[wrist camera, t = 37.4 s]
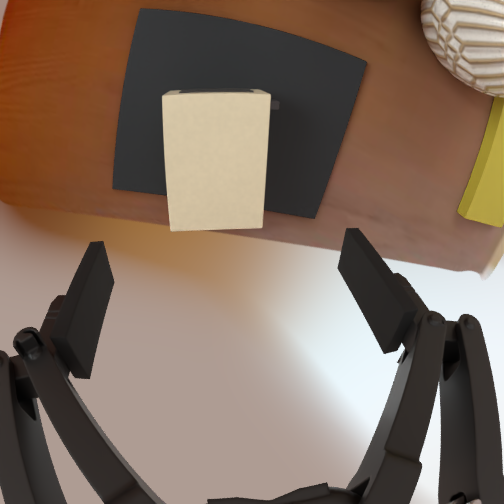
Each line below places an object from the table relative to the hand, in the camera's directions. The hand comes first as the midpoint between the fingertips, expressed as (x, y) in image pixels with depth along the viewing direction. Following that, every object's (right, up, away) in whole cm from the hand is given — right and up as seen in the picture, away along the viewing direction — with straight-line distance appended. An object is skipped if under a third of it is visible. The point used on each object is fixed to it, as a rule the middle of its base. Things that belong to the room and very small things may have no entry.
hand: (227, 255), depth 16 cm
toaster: (-3, +4, +16) cm, 17 cm away
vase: (+26, +28, +8) cm, 39 cm away
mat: (0, +14, +13) cm, 20 cm away
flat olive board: (+41, +16, +19) cm, 48 cm away
